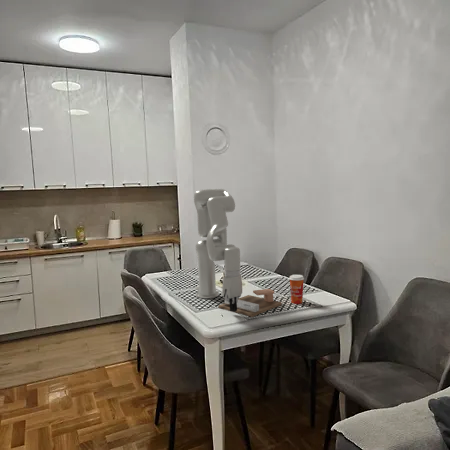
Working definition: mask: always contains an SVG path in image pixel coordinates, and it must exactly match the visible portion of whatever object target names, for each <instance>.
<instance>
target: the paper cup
mask: <svg viewBox="0 0 450 450" xmlns="http://www.w3.org/2000/svg"><path fill="white" fill-rule="evenodd" d="M288 279H289V288H290V300H291V304H294V305H301V304H302V303H303V297H304V280H305V277H304V275H303V274H292V275H289V278H288Z"/></svg>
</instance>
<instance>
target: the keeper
mask: <svg viewBox="0 0 450 450" xmlns="http://www.w3.org/2000/svg"><path fill="white" fill-rule="evenodd" d="M252 293H253V294H255V295H256V296H262V295H263V298H264V300H266V301H267V302H273V301H274V294H275V290H273V289H271V288H266V289H265V288H264V289H256V290H254V289H253V290H252Z"/></svg>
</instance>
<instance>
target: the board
mask: <svg viewBox="0 0 450 450" xmlns="http://www.w3.org/2000/svg"><path fill="white" fill-rule="evenodd" d="M238 300H242V301H246V302H251V303H255V304H259V311H257V312H251V311H247V310H243V309H239V308H237V311H235V312H233V311H230V306H226V305H225V302H224V303H221V304H219V305H218V307H217V308H218V309H221V310H225V311H229V312H232V313H236V314H240V315H244V316H246V317H247V316H248V317H250V318H253V317H256V316H258V315H261V314H263V313H265V312H267V310H268V311H270V310H272V308H273V309H275V308H278V307H280V306H282V301H278V300H277V301H276V300H273V302H267V301H266V300H264V297H259V296H257V295H256V296H255V295H250V294H248V295H244V296H241V297H239V298H238ZM260 313H261V314H260Z"/></svg>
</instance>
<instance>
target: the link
mask: <svg viewBox="0 0 450 450" xmlns="http://www.w3.org/2000/svg"><path fill="white" fill-rule="evenodd" d="M224 303H225V305H226V306H230V303H229V302H228V301H225V300H224ZM237 308H239V309H243V310H247V311H251V312H257V311H259V304H255V303H251V302H246V301H242V300H238V302H237Z"/></svg>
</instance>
